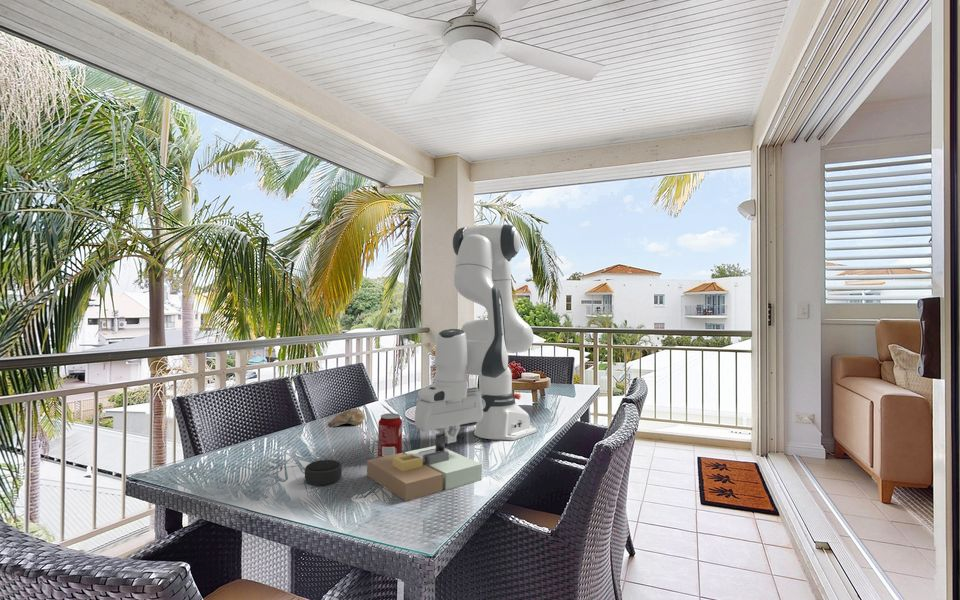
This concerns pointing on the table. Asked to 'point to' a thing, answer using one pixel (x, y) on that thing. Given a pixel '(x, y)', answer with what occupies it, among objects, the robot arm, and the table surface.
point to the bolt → (439, 448)
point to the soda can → (389, 435)
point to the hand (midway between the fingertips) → (450, 442)
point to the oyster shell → (348, 418)
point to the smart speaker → (323, 472)
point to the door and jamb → (423, 472)
